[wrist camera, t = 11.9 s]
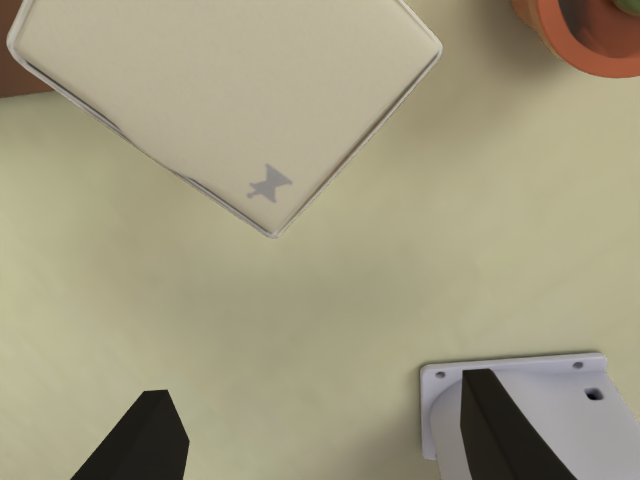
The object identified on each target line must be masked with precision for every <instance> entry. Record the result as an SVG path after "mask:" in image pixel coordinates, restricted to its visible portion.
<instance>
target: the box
mask: <svg viewBox="0 0 640 480" xmlns="http://www.w3.org/2000/svg"><path fill="white" fill-rule="evenodd" d="M7 47H8V50H9V51H10V53H11V55H12V56H13V58H14V59H15V60H16V61H17V62H18V63H19V64H21V65H22V66H23V67H24V68H25V69H26V70H28V71H29V72H31V73H32V74H34V75H35V76H36V77H38V78H39V79H41V80H42V81H44V82H45V83H46V84H48V85H49V86H51V87H52V88H53V89H55V90H56V91H58V92H59V93H60V94H62V95H63V96H64V97H66V98H67V99H69V100H70V101H71V102H73V103H74V104H76V105H77V106H78V107H80V108H81V109H82V110H84V111H85V112H87V113H88V114H89V115H91V116H92V117H94V118H95V119H97V120H98V121H99V122H101V123H102V124H104V125H105V126H106V127H108V128H109V129H111V130H112V131H113V132H115V133H116V134H118V135H119V136H120V137H122V138H123V139H125V140H126V141H128V142H129V143H130V144H132V145H133V146H135V147H136V148H137V149H139V150H140V151H142V152H143V153H145V154H146V155H147V156H149V157H150V158H152V159H153V160H155V161H156V162H157V163H159V164H160V165H162V166H163V167H165V168H166V169H168V170H169V171H171V172H172V173H174V174H175V175H177V176H178V177H179V178H181V179H182V180H184V181H185V182H187V183H188V184H190V185H191V186H193V187H194V188H196V189H197V190H198V191H200V192H201V193H203V194H204V195H206V196H207V197H209V198H210V199H212V200H213V201H215V202H216V203H218V204H219V205H221V206H222V207H224V208H225V209H226V210H228V211H229V212H231V213H232V214H234V215H235V216H237V217H238V218H240V219H241V220H243V221H244V222H246V223H247V224H249V225H250V226H252V227H253V228H255V229H256V230H258V231H259V232H260V233H262V234H263V235H265V236H266V237H269V238H272V239H274V238H278V237H279V236H280V235H281V234H282V233H283V232H284V231H285V230H286V229H287V227H288V226H289V225H290V224H291V223H292V222H293V221H294V220H295V219H296V218H297V217H298V216H299V215H300V214H301V213H302V212H303V211H304V210H305V209H306V208H307V207H308V205H309V204H310V203H311V202H312V201H313V200H314V199H315V198H316V197H317V196H318V195H319V194H320V193H321V192H322V191H323V190H324V189H325V188H326V187H327V186H328V184H329V183H330V182H331V181H332V180H333V179H334V178H335V177H336V176H337V175H338V174H339V172H340V171H341V170H342V169H343V168H344V167H345V166H346V165H347V164H348V163H349V162H350V160H351V159H352V158H353V157H354V156H355V155H356V154H357V153H358V152H359V151H360V150H361V149H362V148H363V147H364V146H365V144H366V143H367V142H368V141H369V140H370V139H371V137H372V136H373V135H374V134H375V133H376V132H377V131H378V129H379V128H380V127H381V126H382V125H383V124H384V123H385V122H386V121H387V119H388V118H389V117H390V116H391V115H392V114H393V113H394V112H395V110H396V109H397V108H398V107H399V106H400V105H401V103H402V102H403V101H404V100H405V99H406V98H407V96H408V95H409V94H410V93H411V92H412V90H413V89H414V88H415V87H416V85H417V84H418V83H419V82H420V81H421V80H422V78H423V77H424V76H425V75H426V74H427V73H428V72H429V71H430V70H431V69H432V68H433V66H434V65H435V64H436V63H437V62H438V60H439V59H440V58H441V55H442V50H443V46H442V44H441V42H440V41H439V39H438V38H437V37H436V36H435V35H434V33H433V32H432V31H431V30H430V29H429V28H428V27H427V26H426V25H425V23H424V22H423V21H422V20H421V19H420V18H419V17H418V16H417V14H416V13H415V12H414V11H413V10H412V9H411V8H410V7H409V6H408V5H407V4H406V3H405V1H404V0H23V2H22V4H21V6H20V9H19V11H18V13H17V15H16V18H15V20H14V22H13V24H12V26H11V28H10V31H9V33H8V35H7Z"/></svg>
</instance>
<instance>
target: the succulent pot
mask: <svg viewBox="0 0 640 480" xmlns="http://www.w3.org/2000/svg"><path fill="white" fill-rule="evenodd" d="M510 2H511V5H512V7H513V9H514V10H515V12H516V14H517V15H518V16H519V18H520V19H521V20H522V21H523V22H524V23H525V24H526V25H527V26H529V27H530V28H532V29H533V30H535V31H537V33H538V35H539V37H540V38H541V40H542V42H543V43H544V44H545V46H546V47H547V48H548V49H549V50H550V52H552V53H553V54H554V55H555V56H556V57H557V58H558V59H560V60H561V61H563V62H565V63H566V64H568V65H570V66H572V67H574V68H576V69H578V70H580V71H583V72H585V73H588V74H590V75H595V76H599V77H605V78H630V77H636V76H640V0H510Z"/></svg>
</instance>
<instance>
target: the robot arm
mask: <svg viewBox="0 0 640 480" xmlns="http://www.w3.org/2000/svg"><path fill="white" fill-rule="evenodd" d="M607 363H608V360H607V359H606V357H605V356H604V355H603V354H602V353H597V352H595V353H581V354H567V355H553V356H539V357H525V358H511V359H497V360H483V361H469V362H456V363H442V364H429V365H425V366H423V367H422V368H421V370H420V390H421V434H422V454H423V457H424V458H425V459H427V460H437V461H438V466H439V471H440V476H441V480H640V424H639V423H638V421H637V420H636V418H635V417H634V415H633V413H632V412H631V410H630V409H629V407H628V406H627V404H626V403H625V401H624V400H623V398H622V397H621V395H620V393H619V392H618V390H617V389H616V387H615V386H614V384H613V383H612V381H611V380H610V378H609V376H608V375H607V373H606V372H605V371H606V367H607ZM438 372H441V373H438ZM189 442H190V441H189V438H188V436H187V434H186V432H185V429H184V427H183V425H182V422H181V420H180V418H179V415H178V413H177V411H176V408H175V406H174V404H173V401H172V399H171V397H170V394H169V392H168V390H153V391H144V392H143V393H142V394H141V395H140V396H139V398H138V399H137V400H136V401H135V402H134V404H133V405H132V406H131V407H130V408H129V410H128V411H127V412H126V413H125V415H124V416H123V417H122V418H121V419H120V421H119V422H118V423H117V424H116V426H115V427H114V428H113V429H112V431H111V432H110V433H109V434H108V435H107V437H106V438H105V439H104V440H103V441H102V443H101V444H100V445H99V446H98V447H97V449H96V450H95V451H94V452H93V453H92V455H91V456H90V457H89V458H88V459H87V460H86V462H85V463H84V464H83V465H82V466H81V468H80V469H79V470H78V471H77V472H76V473H75V475H74V476H73V477H72V478H71V479H70V480H183V476H184V471H185V466H186V460H187V454H188V448H189Z"/></svg>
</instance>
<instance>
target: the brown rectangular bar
mask: <svg viewBox="0 0 640 480" xmlns="http://www.w3.org/2000/svg"><path fill="white" fill-rule="evenodd" d="M22 2H23V0H0V98H5V97H13V96H20V95H28V94H35V93H43V92H51V91H56V90H55V89H53V88H52V87H51V86H49V85H48V84H46V83H45V82H44V81H42V80H41V79H39V78H38V77H36V76H35V75H34V74H32V73H31V72H29V71H28V70H26V69H25V68H24V67H23V66H22V65H21V64H19V63H18V62H17V61H16V60H15V59H14V58H13V56H12V55H11V53H10V51H9V50H8V47H7V35H8V33H9V31H10V28H11V26H12V24H13V22H14V20H15V18H16V15H17V13H18V11H19V9H20V6H21V4H22Z"/></svg>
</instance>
